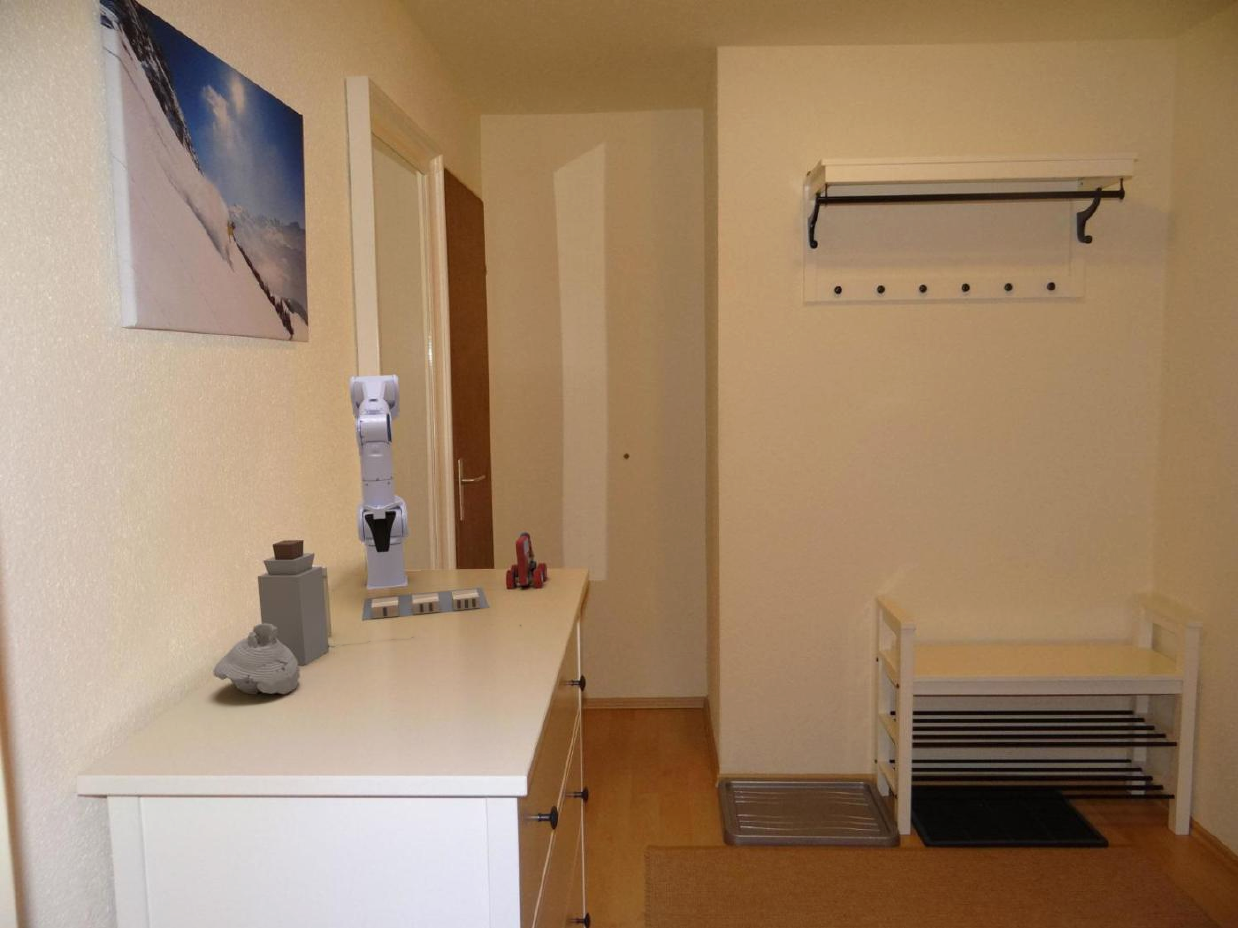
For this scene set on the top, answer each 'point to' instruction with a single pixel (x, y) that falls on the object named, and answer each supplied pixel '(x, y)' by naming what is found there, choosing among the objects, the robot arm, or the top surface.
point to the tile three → (465, 599)
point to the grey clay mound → (260, 663)
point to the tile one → (385, 607)
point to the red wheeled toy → (525, 566)
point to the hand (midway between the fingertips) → (383, 551)
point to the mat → (407, 610)
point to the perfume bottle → (295, 601)
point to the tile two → (425, 603)
